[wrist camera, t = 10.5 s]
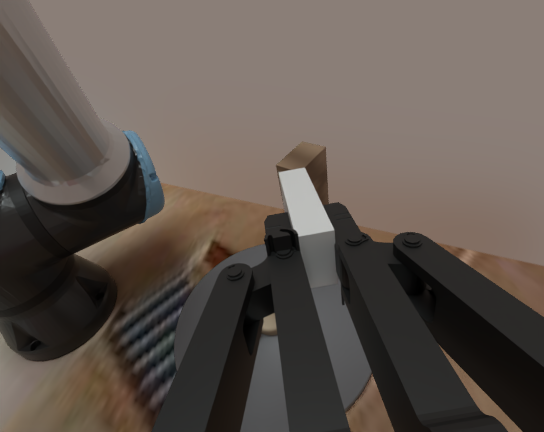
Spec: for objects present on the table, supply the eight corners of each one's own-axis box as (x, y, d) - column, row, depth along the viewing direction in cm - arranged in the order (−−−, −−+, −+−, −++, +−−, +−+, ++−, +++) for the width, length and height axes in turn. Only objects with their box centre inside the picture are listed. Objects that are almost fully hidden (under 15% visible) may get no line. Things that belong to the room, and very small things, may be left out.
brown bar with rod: (229, 409, 34) (162, 324, 21) (198, 381, 36) (122, 291, 24) (337, 257, 46) (333, 148, 34) (308, 245, 49) (294, 139, 36)
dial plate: (141, 340, 43) (135, 334, 42) (268, 226, 56) (267, 219, 54) (286, 513, 28) (283, 512, 27) (416, 305, 41) (418, 298, 40)
